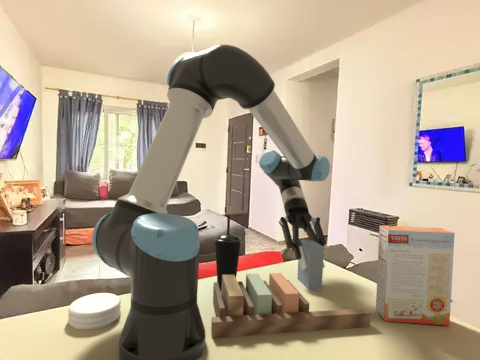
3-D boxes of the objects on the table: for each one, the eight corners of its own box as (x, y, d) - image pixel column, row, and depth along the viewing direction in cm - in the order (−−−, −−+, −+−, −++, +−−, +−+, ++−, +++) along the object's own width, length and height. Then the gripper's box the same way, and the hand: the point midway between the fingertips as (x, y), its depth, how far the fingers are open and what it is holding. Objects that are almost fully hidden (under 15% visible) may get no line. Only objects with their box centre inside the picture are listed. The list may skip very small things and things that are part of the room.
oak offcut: (228, 330, 59) (229, 296, 59) (221, 302, 71) (222, 274, 71) (242, 329, 60) (243, 295, 59) (233, 302, 71) (234, 274, 71)
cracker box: (434, 313, 69) (440, 227, 68) (450, 327, 63) (457, 232, 62) (373, 308, 71) (378, 223, 70) (383, 321, 65) (389, 228, 64)
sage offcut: (256, 328, 60) (258, 295, 60) (245, 301, 72) (246, 274, 72) (270, 327, 61) (272, 294, 61) (256, 301, 73) (257, 273, 72)
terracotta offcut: (284, 326, 61) (285, 293, 61) (268, 300, 73) (269, 273, 73) (297, 325, 62) (299, 293, 62) (279, 300, 74) (281, 272, 73)
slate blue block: (308, 289, 80) (310, 247, 80) (297, 278, 88) (299, 239, 88) (321, 289, 81) (323, 246, 81) (309, 278, 89) (311, 239, 89)
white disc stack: (104, 333, 56) (104, 316, 56) (56, 328, 57) (56, 311, 57) (128, 308, 66) (129, 293, 66) (88, 305, 67) (88, 290, 67)
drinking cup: (228, 279, 86) (231, 212, 85) (245, 288, 80) (248, 216, 79) (206, 285, 81) (209, 214, 80) (223, 295, 75) (226, 218, 74)
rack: (212, 337, 56) (213, 312, 56) (206, 302, 70) (207, 282, 70) (370, 326, 62) (371, 303, 62) (335, 296, 77) (336, 278, 76)
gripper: (315, 210, 102) (336, 273, 87) (267, 210, 99) (280, 275, 83) (322, 197, 97) (347, 262, 81) (272, 196, 94) (287, 263, 78)
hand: (313, 268), depth 82 cm, fingers open, 4 cm apart
